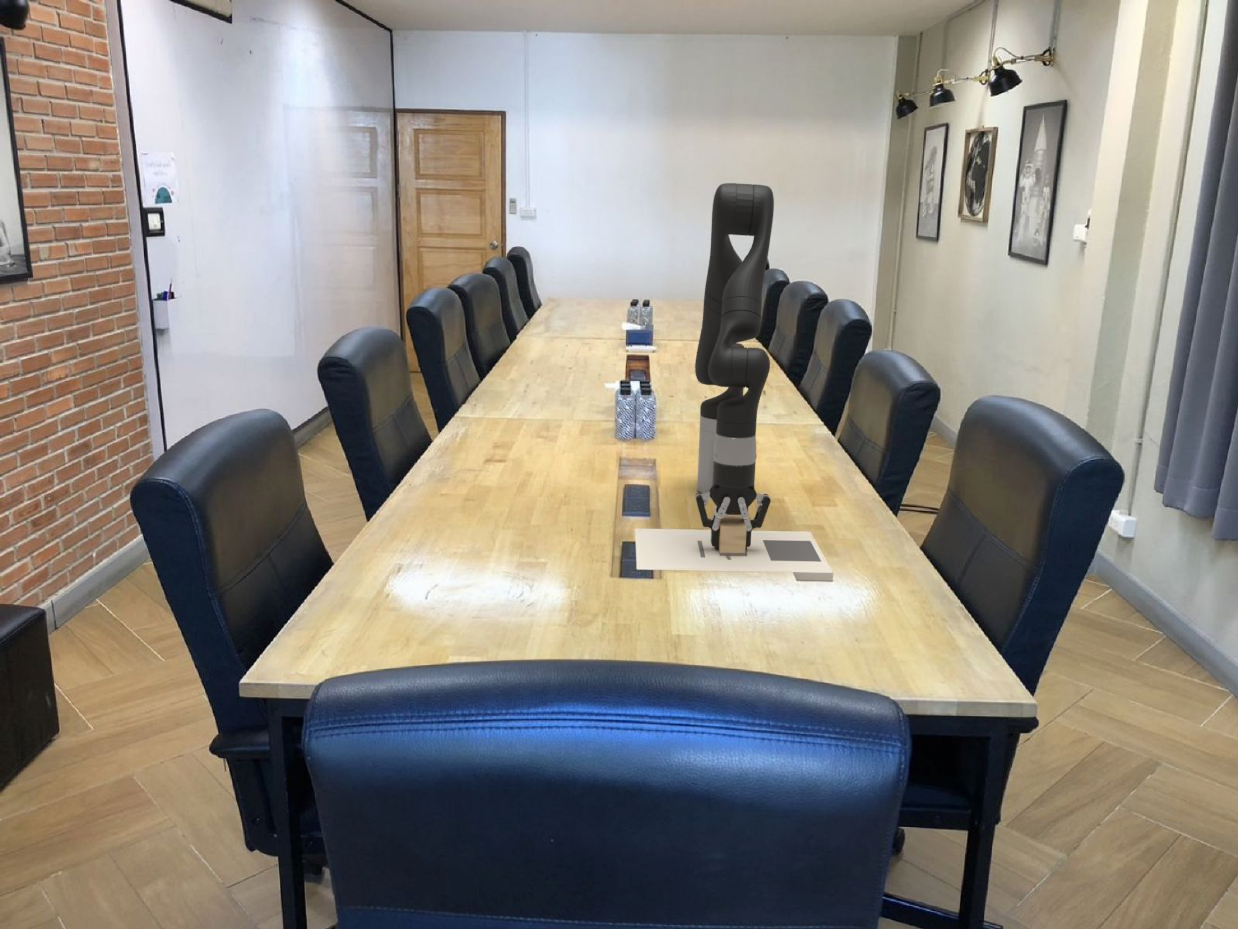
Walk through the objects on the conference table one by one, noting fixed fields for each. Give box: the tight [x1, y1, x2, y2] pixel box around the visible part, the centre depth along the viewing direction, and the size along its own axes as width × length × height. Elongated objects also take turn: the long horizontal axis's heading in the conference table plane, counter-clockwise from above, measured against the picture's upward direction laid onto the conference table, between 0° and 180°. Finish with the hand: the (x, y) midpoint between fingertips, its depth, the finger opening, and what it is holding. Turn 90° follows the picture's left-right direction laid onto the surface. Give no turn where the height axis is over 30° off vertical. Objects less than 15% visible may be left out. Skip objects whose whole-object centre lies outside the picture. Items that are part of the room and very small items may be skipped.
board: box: [634, 528, 834, 582], centre depth 187 cm, size 22×34×2 cm, turn 90°
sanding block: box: [719, 515, 747, 556], centre depth 186 cm, size 7×4×6 cm, turn 1°
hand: (730, 548), depth 187 cm, fingers closed on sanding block, 4 cm apart
